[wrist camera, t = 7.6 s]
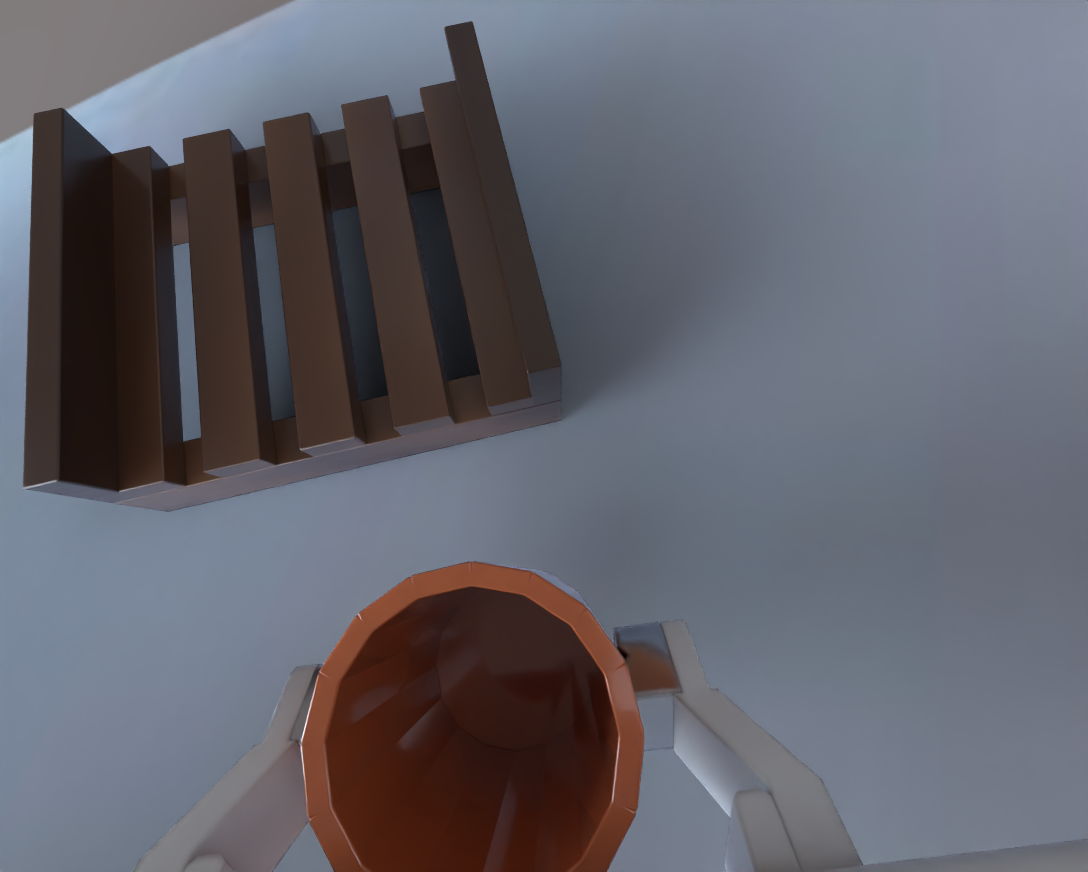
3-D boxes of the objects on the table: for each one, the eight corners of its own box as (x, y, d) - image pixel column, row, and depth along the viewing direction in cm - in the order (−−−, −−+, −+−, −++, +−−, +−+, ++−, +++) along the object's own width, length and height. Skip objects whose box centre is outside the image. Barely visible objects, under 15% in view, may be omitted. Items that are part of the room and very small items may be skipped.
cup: (580, 549, 16) (593, 530, 9) (626, 733, 15) (687, 896, 7) (415, 590, 16) (285, 605, 9) (446, 778, 15) (323, 989, 7)
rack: (492, 145, 23) (472, 19, 18) (561, 420, 20) (562, 365, 15) (154, 219, 23) (32, 112, 17) (167, 512, 19) (21, 489, 14)
